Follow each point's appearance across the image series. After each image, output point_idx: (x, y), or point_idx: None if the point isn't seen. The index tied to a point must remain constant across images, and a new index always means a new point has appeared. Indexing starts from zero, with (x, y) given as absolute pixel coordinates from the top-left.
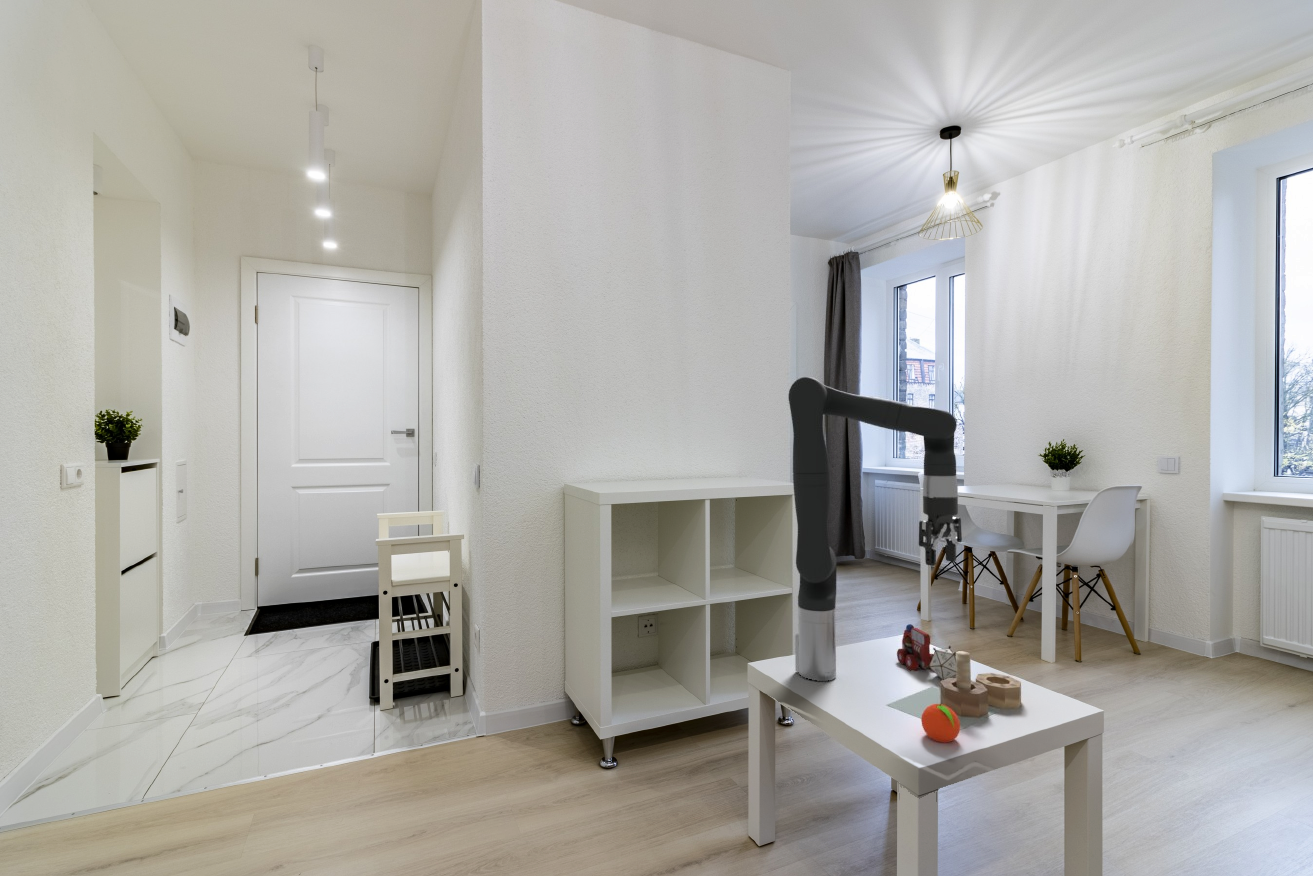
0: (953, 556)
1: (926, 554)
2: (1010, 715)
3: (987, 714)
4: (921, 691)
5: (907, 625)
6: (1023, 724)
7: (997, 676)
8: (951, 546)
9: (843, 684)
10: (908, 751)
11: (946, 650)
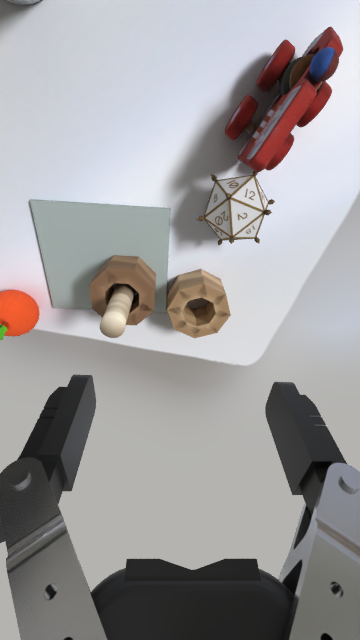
0: (273, 431)
1: (35, 434)
2: (167, 319)
3: None
4: (134, 208)
5: (322, 55)
6: (153, 336)
7: (215, 305)
8: (296, 482)
9: (33, 52)
10: None
11: (246, 214)
